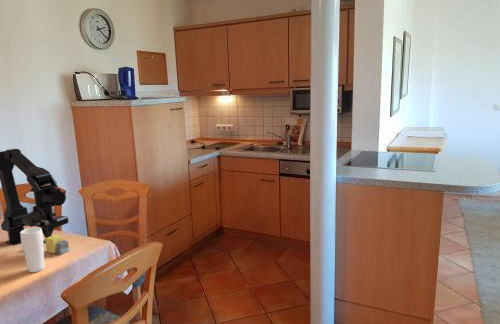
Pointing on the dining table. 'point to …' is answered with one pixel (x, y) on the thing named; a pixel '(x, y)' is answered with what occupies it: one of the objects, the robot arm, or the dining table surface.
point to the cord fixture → (61, 247)
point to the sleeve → (52, 243)
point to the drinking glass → (33, 248)
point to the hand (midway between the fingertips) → (48, 239)
